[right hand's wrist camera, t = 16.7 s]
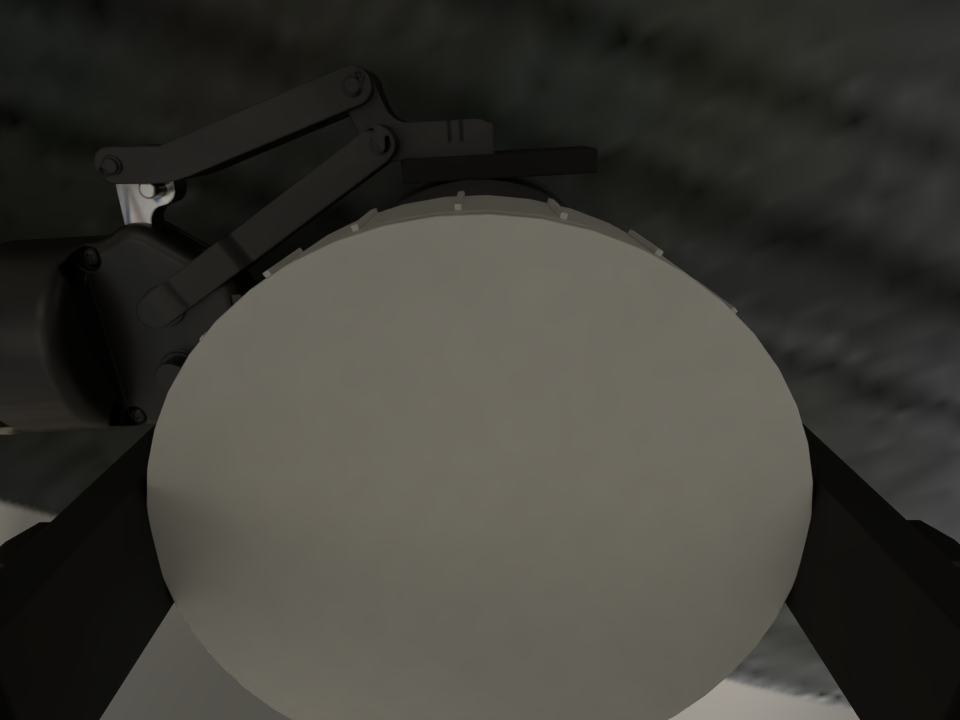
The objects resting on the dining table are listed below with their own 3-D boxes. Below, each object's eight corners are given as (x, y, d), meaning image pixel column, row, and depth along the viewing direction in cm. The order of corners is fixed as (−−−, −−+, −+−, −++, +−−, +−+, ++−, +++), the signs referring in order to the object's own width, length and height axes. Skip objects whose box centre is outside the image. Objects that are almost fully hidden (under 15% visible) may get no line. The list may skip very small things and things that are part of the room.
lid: (861, 293, 11) (958, 335, 9) (632, 711, 15) (659, 814, 13) (248, 105, 10) (181, 99, 8) (178, 614, 14) (120, 708, 12)
